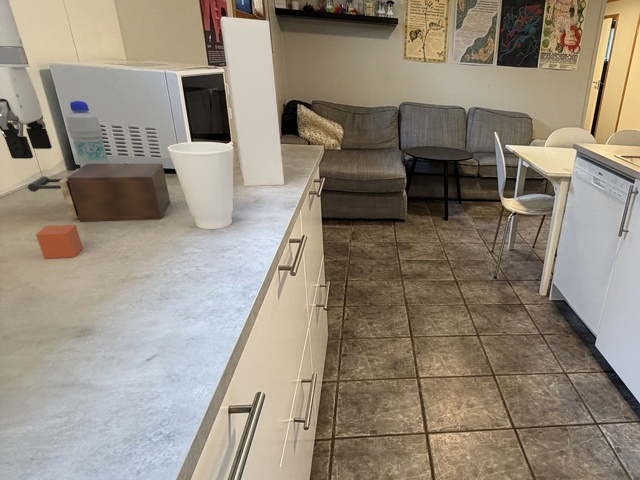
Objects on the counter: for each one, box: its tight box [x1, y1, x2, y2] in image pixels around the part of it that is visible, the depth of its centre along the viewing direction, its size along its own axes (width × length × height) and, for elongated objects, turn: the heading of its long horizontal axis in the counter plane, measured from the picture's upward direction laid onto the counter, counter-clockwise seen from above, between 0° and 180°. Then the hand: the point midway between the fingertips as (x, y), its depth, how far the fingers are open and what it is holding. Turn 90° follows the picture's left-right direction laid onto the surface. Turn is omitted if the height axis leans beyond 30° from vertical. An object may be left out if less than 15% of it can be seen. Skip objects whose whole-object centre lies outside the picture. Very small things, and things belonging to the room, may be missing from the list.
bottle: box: [65, 100, 110, 168], centre depth 116 cm, size 7×7×20 cm
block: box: [35, 224, 84, 259], centre depth 82 cm, size 4×4×4 cm
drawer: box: [27, 168, 79, 218], centre depth 100 cm, size 20×11×7 cm, turn 110°
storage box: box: [219, 16, 285, 187], centre depth 130 cm, size 21×10×40 cm, turn 24°
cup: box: [167, 141, 235, 230], centre depth 97 cm, size 12×12×16 cm
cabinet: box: [67, 163, 171, 223], centre depth 102 cm, size 15×13×9 cm
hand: (33, 153), depth 94 cm, fingers open, 9 cm apart
